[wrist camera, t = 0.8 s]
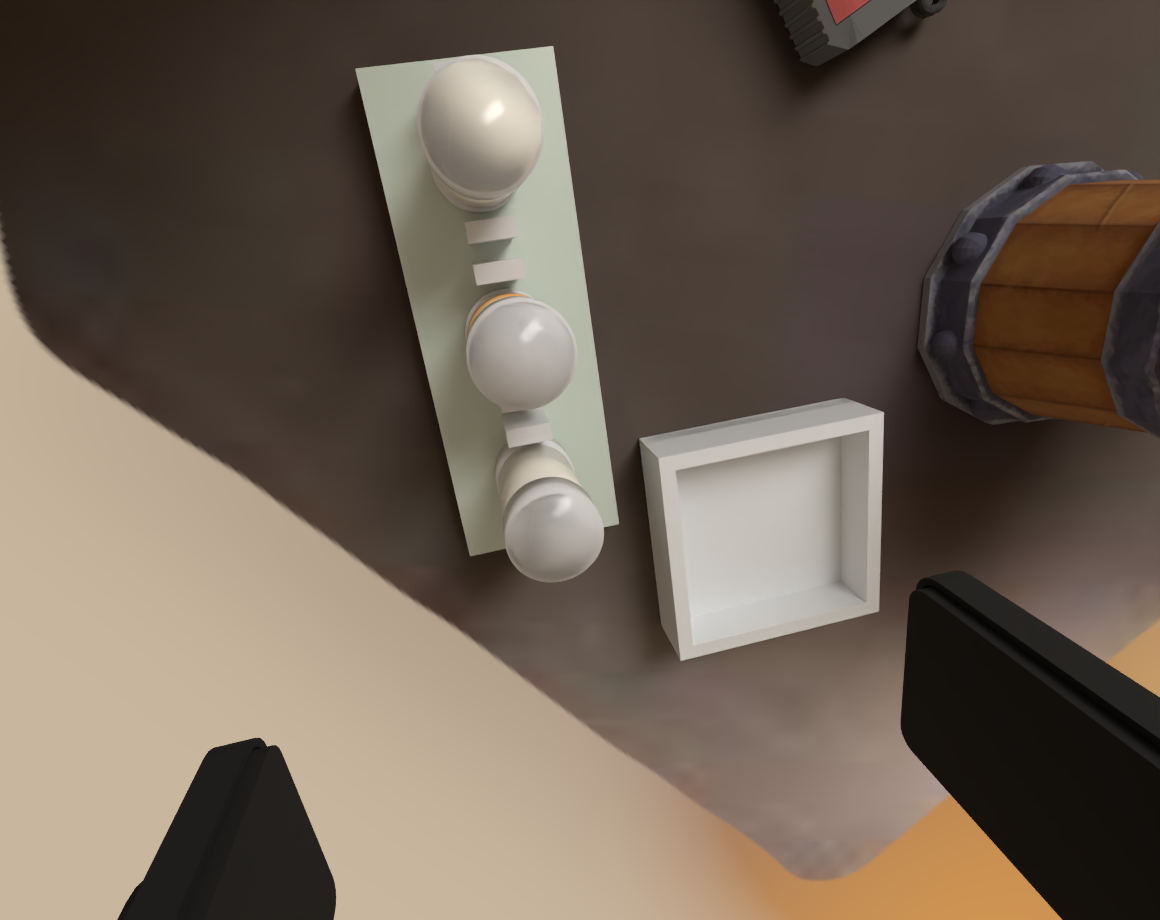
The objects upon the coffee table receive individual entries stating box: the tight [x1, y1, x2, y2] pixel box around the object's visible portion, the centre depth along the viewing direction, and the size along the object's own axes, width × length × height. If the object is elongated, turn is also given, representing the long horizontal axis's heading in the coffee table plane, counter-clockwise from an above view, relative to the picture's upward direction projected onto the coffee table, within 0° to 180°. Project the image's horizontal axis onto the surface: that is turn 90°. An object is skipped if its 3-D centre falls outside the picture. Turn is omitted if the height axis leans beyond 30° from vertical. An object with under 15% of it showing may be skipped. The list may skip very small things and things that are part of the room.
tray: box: [639, 398, 884, 661], centre depth 34 cm, size 12×12×4 cm
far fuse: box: [495, 439, 604, 582], centre depth 27 cm, size 4×4×8 cm
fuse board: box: [355, 46, 619, 556], centre depth 27 cm, size 22×8×4 cm, turn 8°
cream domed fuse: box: [417, 55, 544, 214], centre depth 22 cm, size 4×4×8 cm
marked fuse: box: [465, 288, 577, 410], centre depth 24 cm, size 4×4×8 cm
